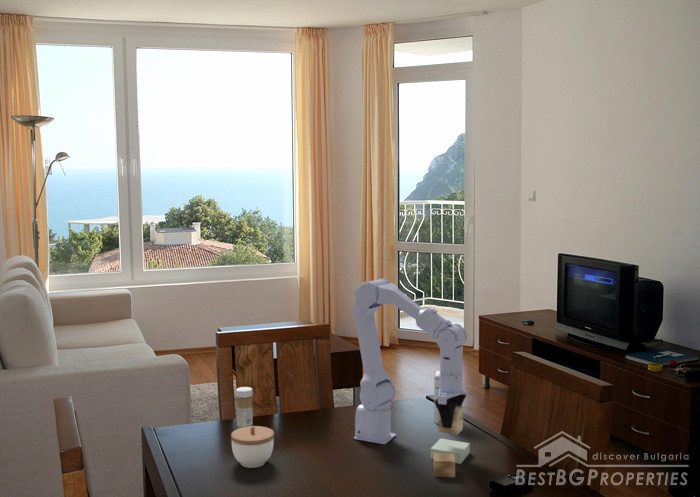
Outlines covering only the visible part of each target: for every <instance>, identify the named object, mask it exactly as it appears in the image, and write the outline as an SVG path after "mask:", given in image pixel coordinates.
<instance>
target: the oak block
mask: <svg viewBox="0 0 700 497" xmlns="http://www.w3.org/2000/svg"><path fill="white" fill-rule="evenodd" d="M432 460H433V463H432V464H433V467H432V469H433V477H435V478H437V477H438V478H456V463H455V457H454V454H447V453H434V459H432Z"/></svg>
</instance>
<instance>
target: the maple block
mask: <svg viewBox="0 0 700 497" xmlns="http://www.w3.org/2000/svg"><path fill="white" fill-rule="evenodd" d="M437 424H438V427H437V429H438V430H437V431H438V433H442V434H443V433H444V434H449V435H456V436H458V435H459V433H461V432H462V431H463V429H464V405H462V406H458V405H457V406H456V408H455V411H454V415H453V422H452V426H451V428H445V427H443V426H442V422H441V417H440V413H439V422H438V423H437Z"/></svg>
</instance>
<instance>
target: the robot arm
mask: <svg viewBox="0 0 700 497" xmlns="http://www.w3.org/2000/svg"><path fill="white" fill-rule="evenodd" d="M354 297H355V300H354V304H353V309H352V312H353V319H354V323H355V329H356V334H357V338H358V346H359V351H360V355H361V356H360V357H361V362H362V367H363V373H364V374H363V376H362V378H361V379H360V392H359V400H360V403H361V404H359V405H358V406H357V408H356V411H355V416H354V417H355V418H354V421H355V422H354V425H355V426H354V427H355V428H354V435H355V436H353V439H354V440H358V441H365V442H369V443H375V444H379V445H380V444H381V445H386V444H387V443H389V442H390V441H391V440H392V439H393V438H394V437H396V436H397V434H396V433H393V432H391V428H392V427H391V423H392V422H391V420H392V419H391V417H392V416H391V414H392V411H391V410H392V408H391V407H392V406H391V405H392V401H393V400H394V398H395V396H396V387H395V385H394V383H393V382H392V380H391V375H390V374H389V373H388V372H387V371H386V370H385V368H384V363H383V357H382V352H381V351H382V350H381V346H380V341H379V336H378V335H379V334H378V331H377V330H378V329H377V325H376V320H375V314H376V312H377V310H379V309H380V306H382V305H392V306H394V307H396V308H397V309H399V310H400V311H402V312H404V313H405V314H407V315H408V316H409V317H410V318H413V319H414V320H415V324H416V326H417V327H418V328H419V329H421V331H423V332H424V333H426V334H427V335H429V336H430V337H431V338H433V339H434V340H435V342H436V345H437V346H438V348H439V358H440V359H439V364H440V365H439V371H440V388H439V396H438V399H436V400H435V405H436V406H437V408H438V411H439V413H440V417H441V422H442V426H443V427H445V428H451V426H452V422H453V415H454V411H455V408H456V406H457V405H458V406H463V403H464V401H465V399H466V398H467V392H468V390H466V389H464V382H463V372H464V371H463V369H464V368H463V366H464V365H463V364H464V362H463V360H464V358H463V356H464V355H463V354H464V350H463V348H464V346H463V345H465V343H466V341H467V338H468V334H467V331H466V330H465V328H464V327H463V326H462V325H461V324H459V323H454V324H453V323H452V321H451V320H449V319H446V318H444V317H443V316H442V315H440V314H439V313H438V310H437V309H435V308H429V307H426V308H423V307H422V306H420V305H419V304H417V302H415V301H414V300H412V298H410V297H409V296H408V295H407V294H405V293H404V292H403V291H401V290H400V288H398V286H397V285H396V284H395V283H393V282H391V281H390V280H389V279H387V278H379V279H376V280H375V279H374V280H369V281H363V282H361V283H360V284H359V285H358V286H357V288H356V289H355V290H354Z"/></svg>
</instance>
